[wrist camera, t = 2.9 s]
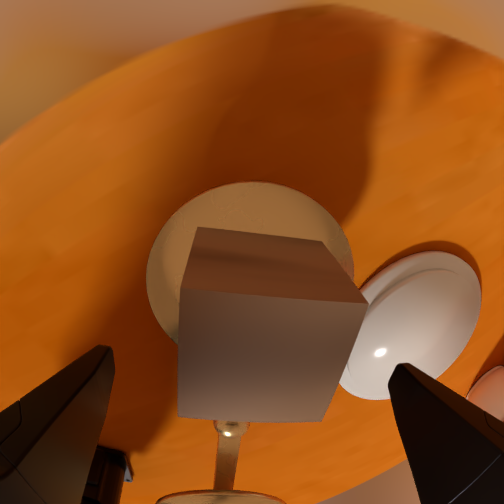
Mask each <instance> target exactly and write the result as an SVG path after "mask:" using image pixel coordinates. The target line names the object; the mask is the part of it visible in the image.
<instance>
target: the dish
mask: <svg viewBox="0 0 504 504" xmlns="http://www.w3.org/2000/svg"><path fill="white" fill-rule="evenodd" d="M359 291H360V292H361V293H362V295H363V296H364V297H365V299H366V300H367V301H368V303H369V306H368V309H367V311H366V314H365V317H364V320H363V323H362V325H361V328H360V331H359V334H358V336H357V339H356V342H355V344H354V347H353V349H352V352H351V354H350V357H349V360H348V362H347V364H346V367H345V369H344V372H343V374H342V377H341V379H340V381H339V383H340V384H341V386H342V387H343V388H344V389H345V390H346V391H348V392H349V393H351V394H353V395H355V396H357V397H360V398H364V399H371V400H383V399H390V394H389V390H388V381H389V379H390V377H391V375H392V373H393V371H394V369H395V367H396V365H397V364H399V363H410V364H412V365H413V366H415V367H416V368H418V369H420V370H421V371H423V372H424V373H426V374H427V375H429V376H431V377H432V378H434V379H436V378H437V377H438V376H440V375H441V374H442V373H443V372H444V371H445V370H447V369H448V368H449V367H450V366H451V364H452V363H453V362H454V361H455V360H456V359H457V357H458V356H459V355H460V354H461V352H462V351H463V349H464V348H465V346H466V344H467V343H468V341H469V339H470V337H471V335H472V333H473V331H474V329H475V326H476V323H477V320H478V317H479V313H480V307H481V289H480V284H479V281H478V278H477V276H476V274H475V272H474V270H473V269H472V268H471V267H470V266H469V265H468V264H467V263H466V262H465V261H463V260H462V259H461V258H459V257H458V256H455V255H453V254H451V253H448V252H444V251H424V252H420V253H415V254H412V255H409V256H407V257H404V258H402V259H400V260H398V261H396V262H394V263H392V264H390V265H389V266H387V267H386V268H384V269H383V270H381V271H380V272H379V273H377V274H376V275H375V276H374V277H372V278H371V279H370V280H369V281H368V282H367V283H366V284H365V285H364V286H363V287H362V288H361V289H360V290H359Z"/></svg>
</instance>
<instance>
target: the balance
mask: <svg viewBox="0 0 504 504" xmlns="http://www.w3.org/2000/svg"><path fill="white" fill-rule="evenodd" d="M197 226H198V227H207V228H216V229H225V230H234V231H242V232H251V233H259V234H268V235H276V236H285V237H293V238H301V239H309V240H317V241H322V242H323V243H324V245H325V246H326V247H327V248H328V250H329V251H330V252H331V254H332V255H333V256H334V257H335V259H336V260H337V261H338V263H339V264H340V265H341V267H342V268H343V269H344V271H345V272H346V273H347V275H348V276H349V277H350V279H351V280H352V281H353V280H354V264H353V258H352V253H351V249H350V246H349V243H348V240H347V238H346V236H345V234H344V232H343V231H342V229H341V227H340V226H339V224H338V223H337V222H336V220H335V219H334V218H333V216H332V215H331V214H330V213H329V212H327V211H326V210H325V209H324V208H323V207H322V206H321V205H320V204H319V203H317V202H316V201H315V200H313V199H312V198H311V197H309V196H308V195H306V194H304V193H302V192H300V191H298V190H296V189H293V188H291V187H288V186H285V185H282V184H278V183H273V182H268V181H255V180H251V181H237V182H232V183H227V184H222V185H219V186H217V187H214V188H211V189H208V190H206V191H204V192H202V193H200V194H198V195H196V196H195V197H193V198H192V199H190V200H189V201H187V202H186V203H185V204H183V205H182V206H181V207H180V208H179V209H178V210H177V211H176V212H175V213H174V214H173V215H172V216H171V217H170V218H169V220H168V221H167V222H166V223H165V225H164V226H163V228H162V229H161V231H160V233H159V234H158V236H157V238H156V240H155V242H154V244H153V247H152V249H151V252H150V255H149V259H148V263H147V271H146V286H147V294H148V298H149V303H150V305H151V308H152V311H153V313H154V315H155V317H156V319H157V321H158V323H159V324H160V326H161V327H162V328H163V330H164V331H165V332H166V334H167V335H168V336H169V337H170V338H171V339H172V340H173V341H174V342H175V343H176V344H177V345H178V327H179V301H180V286H181V283H182V279H183V275H184V272H185V268H186V264H187V261H188V257H189V254H190V250H191V247H192V243H193V240H194V236H195V233H196V230H197ZM213 424H214V427H215V429H216V431H217V432H218V433H219V434H218V444H217V454H216V464H215V474H214V485H213V490H193V491H184V492H177V493H172V494H169V495H166V496H163V497H161V498H160V499H158V500H157V501H156V503H155V504H286V503H285V502H284V501H283V500H281V499H279V498H277V497H274V496H271V495H267V494H263V493H257V492H250V491H240V490H233V485H234V478H235V472H236V466H237V459H238V453H239V446H240V440H241V436H243V435H244V434H245V433H246V432H247V430H248V429H249V426H250V422H237V421H220V420H213Z"/></svg>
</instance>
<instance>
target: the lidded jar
mask: <svg viewBox="0 0 504 504" xmlns="http://www.w3.org/2000/svg"><path fill="white" fill-rule="evenodd" d="M466 399H467V400H468V401H470V402H472V403H473V404H475V405H476V406H478V407H480V408H481V409H483V411H486V412H488V413H489V414H491V415H492V416H494V417H496V418H497V419H499V420H501V421H502V422H504V366H501V365H500V366H496V367H494V368H492V369H491V370H489V371H488V372H487V373H485V374H484V375H483V376H482V377H481V378H480V379H479V380H478V381H477V382H476V383H475V384H474V386H473V387H472V388H471V390H470V391H469V393H468V395H467V397H466Z"/></svg>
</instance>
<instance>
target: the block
mask: <svg viewBox="0 0 504 504" xmlns="http://www.w3.org/2000/svg"><path fill="white" fill-rule="evenodd" d="M368 306H369V303H368V301H367V300H366V299H365V297H364V296H363V295H362V293H361V292H360V291H359V289H358V288H357V287H356V285H355V284H354V283H353V281H352V280H351V279H350V277H349V276H348V275H347V273H346V272H345V271H344V269H343V268H342V267H341V265H340V264H339V263H338V261H337V260H336V259H335V257H334V256H333V255H332V254H331V252H330V251H329V250H328V248H327V247H326V246H325V245H324V243H323V242H322V241H317V240H309V239H301V238H293V237H285V236H276V235H268V234H259V233H251V232H242V231H234V230H225V229H216V228H207V227H198V226H197V230H196V233H195V236H194V240H193V243H192V247H191V250H190V254H189V257H188V261H187V264H186V268H185V272H184V275H183V279H182V283H181V286H180V301H179V327H178V417H186V418H196V419H207V420H220V421H237V422H274V423H284V422H321V421H322V419H323V417H324V415H325V413H326V411H327V408H328V406H329V404H330V402H331V400H332V397H333V395H334V393H335V391H336V388H337V386H338V384H339V381H340V379H341V377H342V374H343V372H344V369H345V367H346V364H347V362H348V360H349V357H350V354H351V352H352V349H353V347H354V344H355V342H356V339H357V336H358V334H359V331H360V328H361V325H362V323H363V320H364V317H365V314H366V311H367V309H368Z"/></svg>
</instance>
